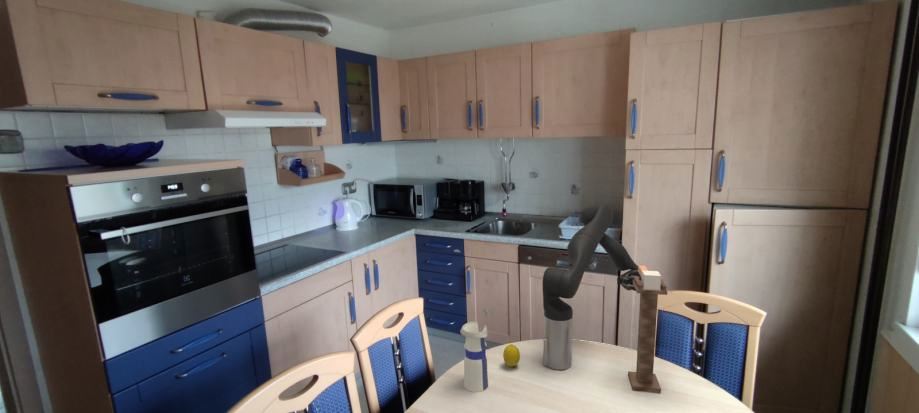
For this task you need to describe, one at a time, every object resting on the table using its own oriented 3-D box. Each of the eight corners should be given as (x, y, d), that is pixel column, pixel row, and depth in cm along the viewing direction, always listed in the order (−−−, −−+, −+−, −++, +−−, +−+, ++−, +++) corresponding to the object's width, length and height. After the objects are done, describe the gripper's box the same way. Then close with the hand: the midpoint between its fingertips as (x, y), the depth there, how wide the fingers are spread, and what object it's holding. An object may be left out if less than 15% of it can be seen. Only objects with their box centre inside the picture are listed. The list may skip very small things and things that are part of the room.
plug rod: (643, 289, 122) (644, 275, 122) (634, 270, 138) (634, 257, 137) (660, 290, 121) (661, 275, 121) (648, 271, 137) (649, 258, 136)
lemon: (519, 362, 145) (519, 340, 144) (520, 371, 140) (520, 349, 138) (503, 361, 146) (503, 340, 144) (503, 370, 140) (503, 348, 139)
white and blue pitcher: (471, 373, 139) (469, 301, 135) (494, 381, 134) (493, 307, 130) (457, 386, 133) (454, 311, 128) (480, 395, 128) (478, 317, 123)
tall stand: (632, 390, 128) (637, 285, 122) (628, 375, 136) (632, 275, 130) (660, 393, 126) (667, 286, 120) (654, 378, 134) (661, 277, 128)
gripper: (615, 269, 162) (617, 270, 147) (656, 271, 157) (663, 272, 142) (616, 289, 161) (617, 292, 146) (657, 291, 157) (663, 295, 141)
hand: (640, 282), depth 144 cm, fingers open, 8 cm apart
